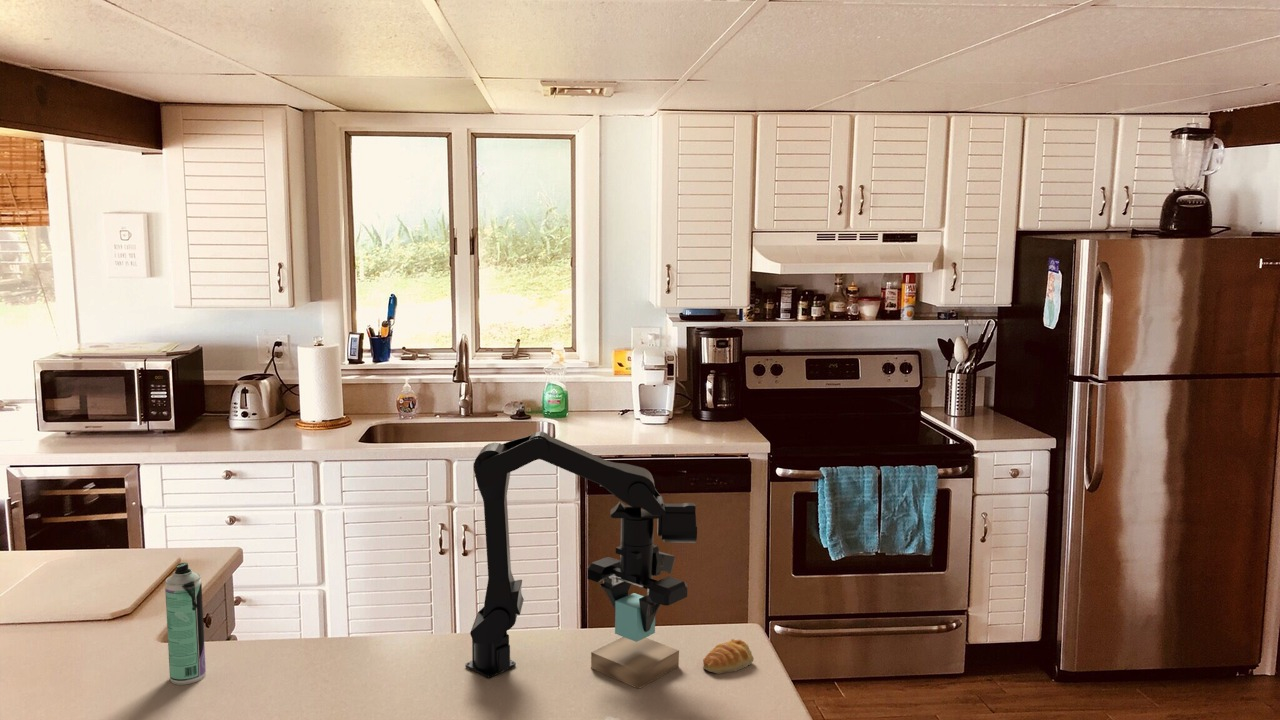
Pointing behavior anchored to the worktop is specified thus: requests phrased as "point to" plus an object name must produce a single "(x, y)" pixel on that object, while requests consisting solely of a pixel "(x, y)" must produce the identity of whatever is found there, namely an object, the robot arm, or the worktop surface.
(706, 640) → the worktop surface
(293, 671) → the worktop surface
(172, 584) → the spray can
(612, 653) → the oak base
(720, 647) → the pastry
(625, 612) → the teal block
